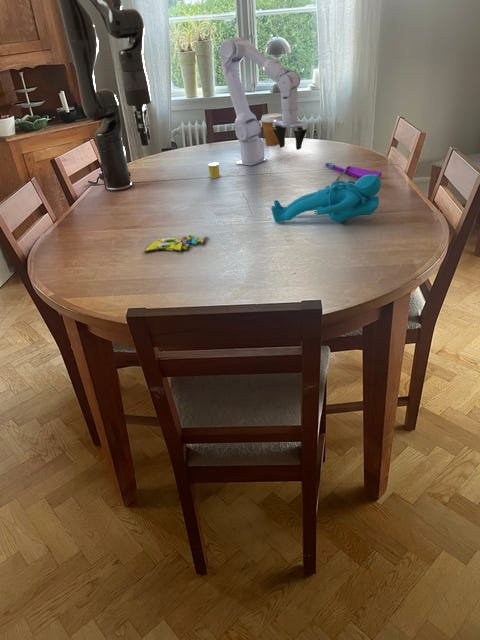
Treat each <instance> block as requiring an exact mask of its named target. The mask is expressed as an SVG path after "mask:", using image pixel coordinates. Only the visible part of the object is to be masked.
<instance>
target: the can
mask: <svg viewBox="0 0 480 640" xmlns="http://www.w3.org/2000/svg"><path fill="white" fill-rule="evenodd" d="M219 165H220V164H219V162H211V163H209V164H208V172H209V178H210V179H217V178H218V179H219V178H220V177H221V176H220V166H219Z"/></svg>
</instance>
